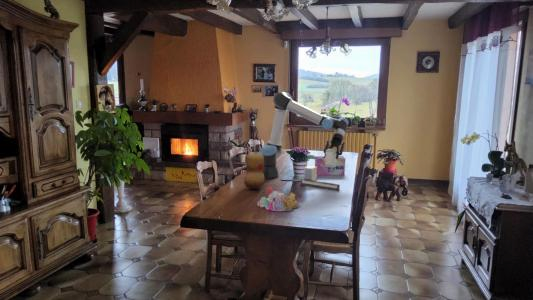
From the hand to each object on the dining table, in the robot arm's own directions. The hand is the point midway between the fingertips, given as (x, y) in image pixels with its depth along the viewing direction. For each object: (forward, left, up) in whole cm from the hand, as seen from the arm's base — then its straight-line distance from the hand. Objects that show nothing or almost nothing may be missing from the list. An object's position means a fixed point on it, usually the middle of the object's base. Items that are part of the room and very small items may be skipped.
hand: (329, 161), depth 265 cm
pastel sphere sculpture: (-57, -27, -17) cm, 65 cm away
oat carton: (-11, +7, -16) cm, 21 cm away
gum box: (+20, +25, -17) cm, 36 cm away
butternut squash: (-53, +11, -16) cm, 57 cm away
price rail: (-11, -5, -16) cm, 20 cm away
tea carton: (+3, +2, -4) cm, 5 cm away
